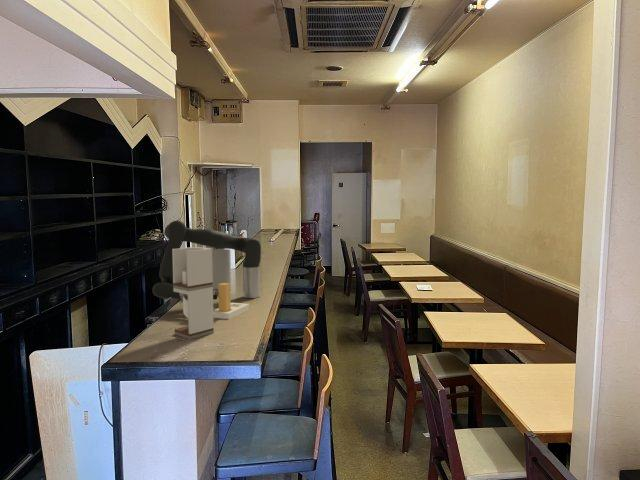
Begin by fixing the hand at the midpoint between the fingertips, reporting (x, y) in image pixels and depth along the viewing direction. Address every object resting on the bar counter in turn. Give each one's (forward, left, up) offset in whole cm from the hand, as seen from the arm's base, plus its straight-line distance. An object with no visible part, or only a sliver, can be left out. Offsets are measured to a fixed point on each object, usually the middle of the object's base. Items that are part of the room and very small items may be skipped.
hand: (221, 295), depth 213 cm
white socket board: (-5, +2, -10) cm, 11 cm away
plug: (0, +2, -9) cm, 10 cm away
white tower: (+28, +4, -10) cm, 30 cm away
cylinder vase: (-48, -29, -10) cm, 57 cm away
